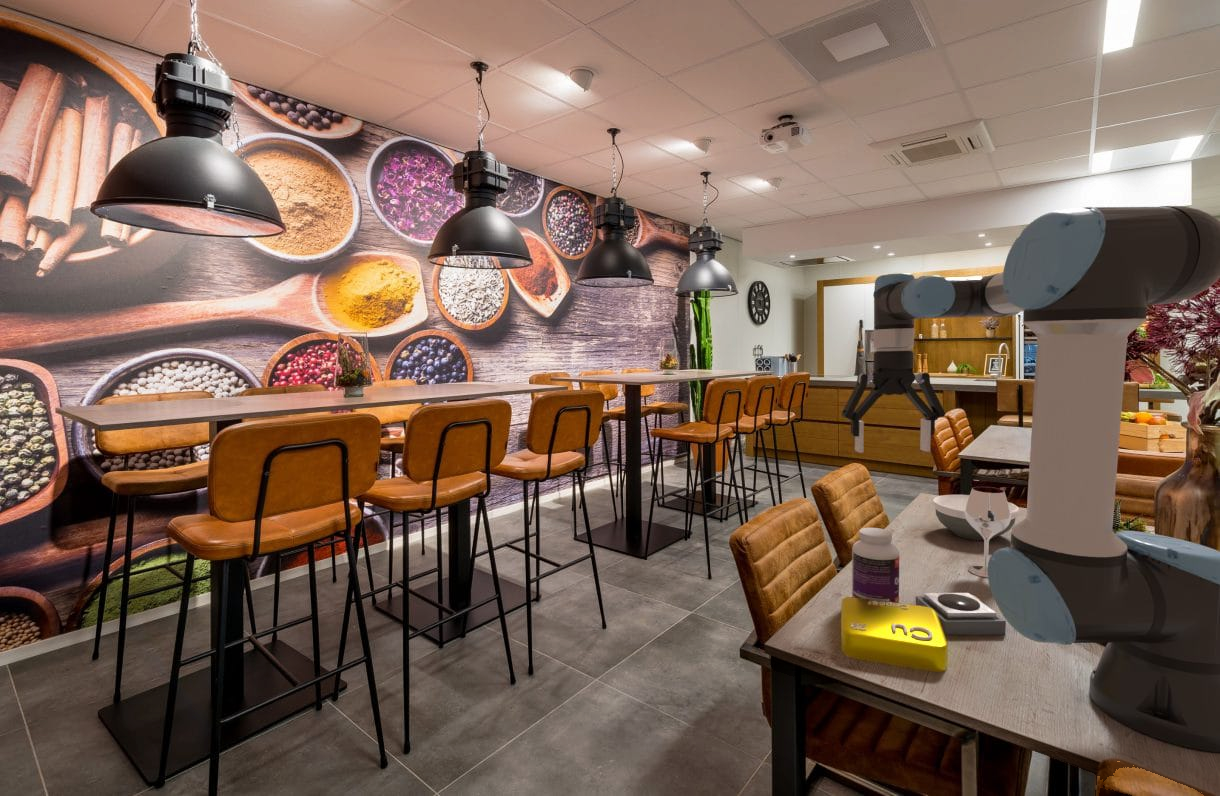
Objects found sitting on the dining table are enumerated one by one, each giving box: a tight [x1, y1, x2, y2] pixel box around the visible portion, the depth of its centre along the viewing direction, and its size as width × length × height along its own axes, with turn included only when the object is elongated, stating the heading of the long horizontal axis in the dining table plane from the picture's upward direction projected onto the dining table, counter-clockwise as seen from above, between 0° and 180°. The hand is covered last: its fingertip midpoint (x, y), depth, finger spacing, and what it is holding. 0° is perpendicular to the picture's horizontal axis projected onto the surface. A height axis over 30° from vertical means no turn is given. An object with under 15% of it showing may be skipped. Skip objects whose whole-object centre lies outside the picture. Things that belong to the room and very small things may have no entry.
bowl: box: [932, 494, 1020, 541], centre depth 147 cm, size 19×19×8 cm
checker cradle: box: [915, 594, 1007, 636], centre depth 101 cm, size 10×10×3 cm
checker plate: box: [923, 592, 997, 620], centre depth 101 cm, size 8×8×2 cm
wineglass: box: [965, 486, 1011, 579], centre depth 122 cm, size 8×8×18 cm
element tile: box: [840, 596, 949, 673], centre depth 95 cm, size 15×15×5 cm
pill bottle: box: [851, 527, 900, 603], centre depth 107 cm, size 8×8×14 cm
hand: (892, 451), depth 121 cm, fingers open, 13 cm apart
